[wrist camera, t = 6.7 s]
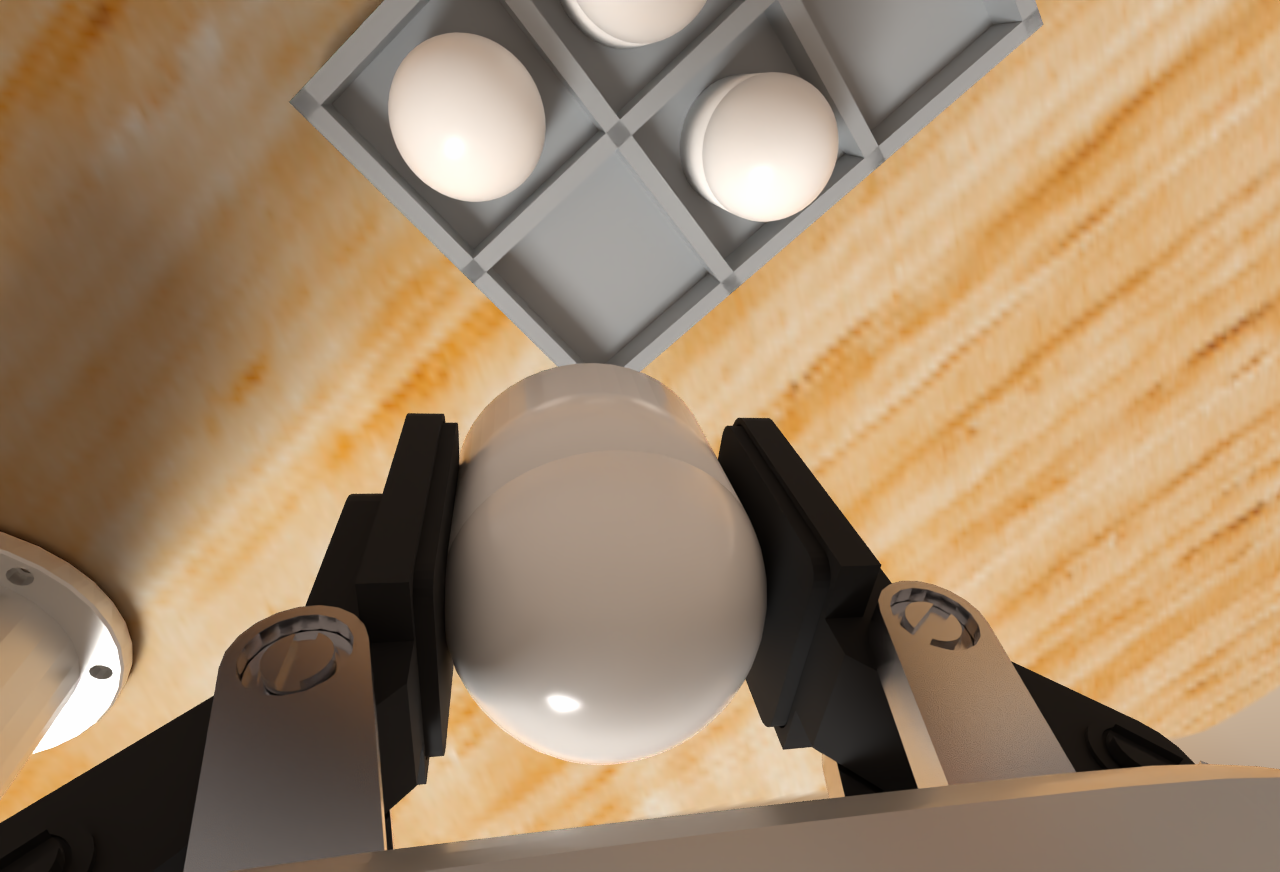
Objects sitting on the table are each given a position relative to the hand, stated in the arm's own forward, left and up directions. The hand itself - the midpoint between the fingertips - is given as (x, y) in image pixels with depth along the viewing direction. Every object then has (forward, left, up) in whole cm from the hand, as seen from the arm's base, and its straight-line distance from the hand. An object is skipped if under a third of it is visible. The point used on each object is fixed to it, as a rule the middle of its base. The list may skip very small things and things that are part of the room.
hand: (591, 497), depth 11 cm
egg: (0, 0, -1) cm, 1 cm away
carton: (+9, +2, -16) cm, 18 cm away
